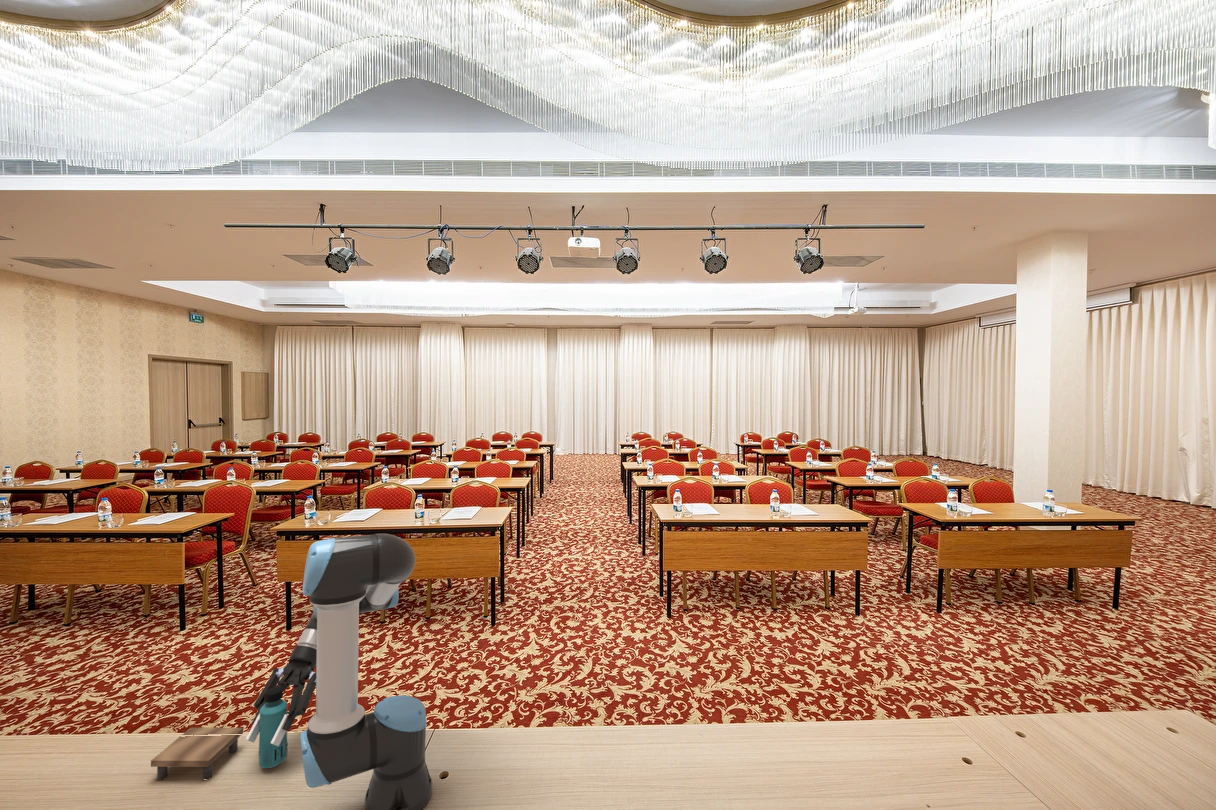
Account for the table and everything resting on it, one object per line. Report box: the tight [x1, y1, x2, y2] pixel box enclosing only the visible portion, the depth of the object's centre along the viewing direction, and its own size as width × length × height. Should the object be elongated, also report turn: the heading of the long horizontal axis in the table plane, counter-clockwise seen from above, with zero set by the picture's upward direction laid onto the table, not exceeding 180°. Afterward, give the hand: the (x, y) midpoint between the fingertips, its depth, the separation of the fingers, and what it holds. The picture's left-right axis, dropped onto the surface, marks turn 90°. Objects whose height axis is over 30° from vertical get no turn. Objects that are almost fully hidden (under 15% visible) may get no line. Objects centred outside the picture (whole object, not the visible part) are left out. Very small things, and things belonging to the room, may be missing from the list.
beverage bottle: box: [257, 687, 289, 769], centre depth 137 cm, size 6×7×20 cm
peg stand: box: [150, 727, 244, 781], centre depth 137 cm, size 14×13×6 cm
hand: (262, 742), depth 133 cm, fingers closed on beverage bottle, 6 cm apart
